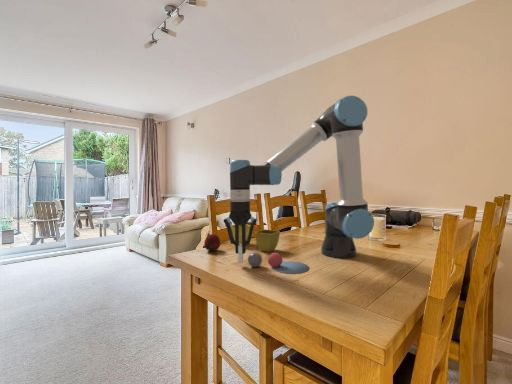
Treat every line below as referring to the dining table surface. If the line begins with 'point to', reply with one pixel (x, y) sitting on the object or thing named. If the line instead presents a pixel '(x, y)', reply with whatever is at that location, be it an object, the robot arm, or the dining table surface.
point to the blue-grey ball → (254, 259)
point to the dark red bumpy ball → (212, 242)
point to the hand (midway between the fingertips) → (240, 261)
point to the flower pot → (267, 239)
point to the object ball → (275, 259)
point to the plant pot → (240, 232)
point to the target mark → (291, 267)
